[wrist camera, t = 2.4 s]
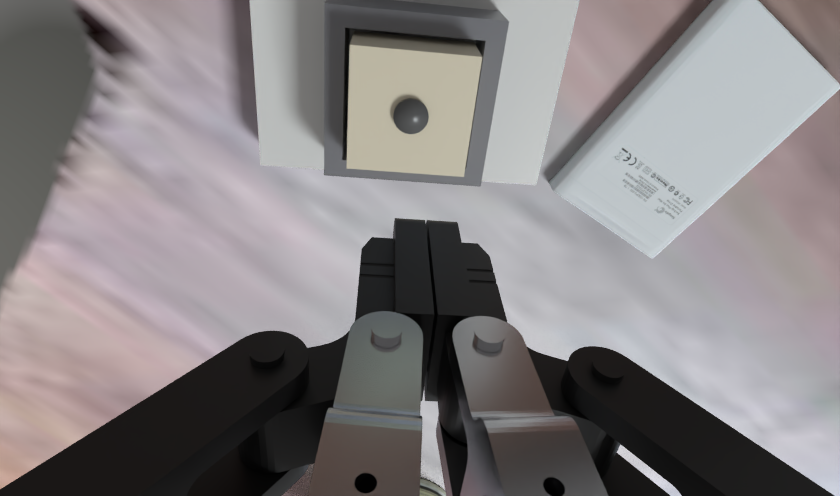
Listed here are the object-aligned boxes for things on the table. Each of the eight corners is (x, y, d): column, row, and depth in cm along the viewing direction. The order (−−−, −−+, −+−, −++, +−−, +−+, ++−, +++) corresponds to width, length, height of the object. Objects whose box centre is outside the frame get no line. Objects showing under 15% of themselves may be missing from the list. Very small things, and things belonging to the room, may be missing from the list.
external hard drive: (823, 79, 28) (644, 247, 33) (724, -21, 25) (546, 179, 31) (845, 88, 27) (655, 262, 32) (743, -17, 24) (553, 192, 29)
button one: (474, 42, 23) (483, 58, 20) (458, 154, 25) (464, 179, 23) (353, 31, 22) (349, 46, 20) (350, 145, 25) (346, 170, 23)
